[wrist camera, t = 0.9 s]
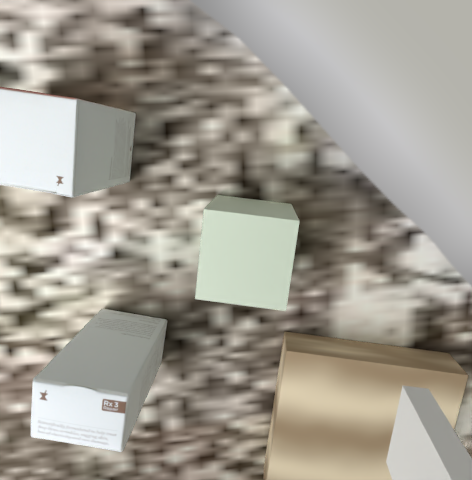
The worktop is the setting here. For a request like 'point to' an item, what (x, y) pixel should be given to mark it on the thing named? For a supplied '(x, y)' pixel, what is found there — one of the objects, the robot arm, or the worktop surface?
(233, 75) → the worktop surface
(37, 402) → the skincare box
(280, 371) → the birch block
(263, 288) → the sage block
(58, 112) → the small box
